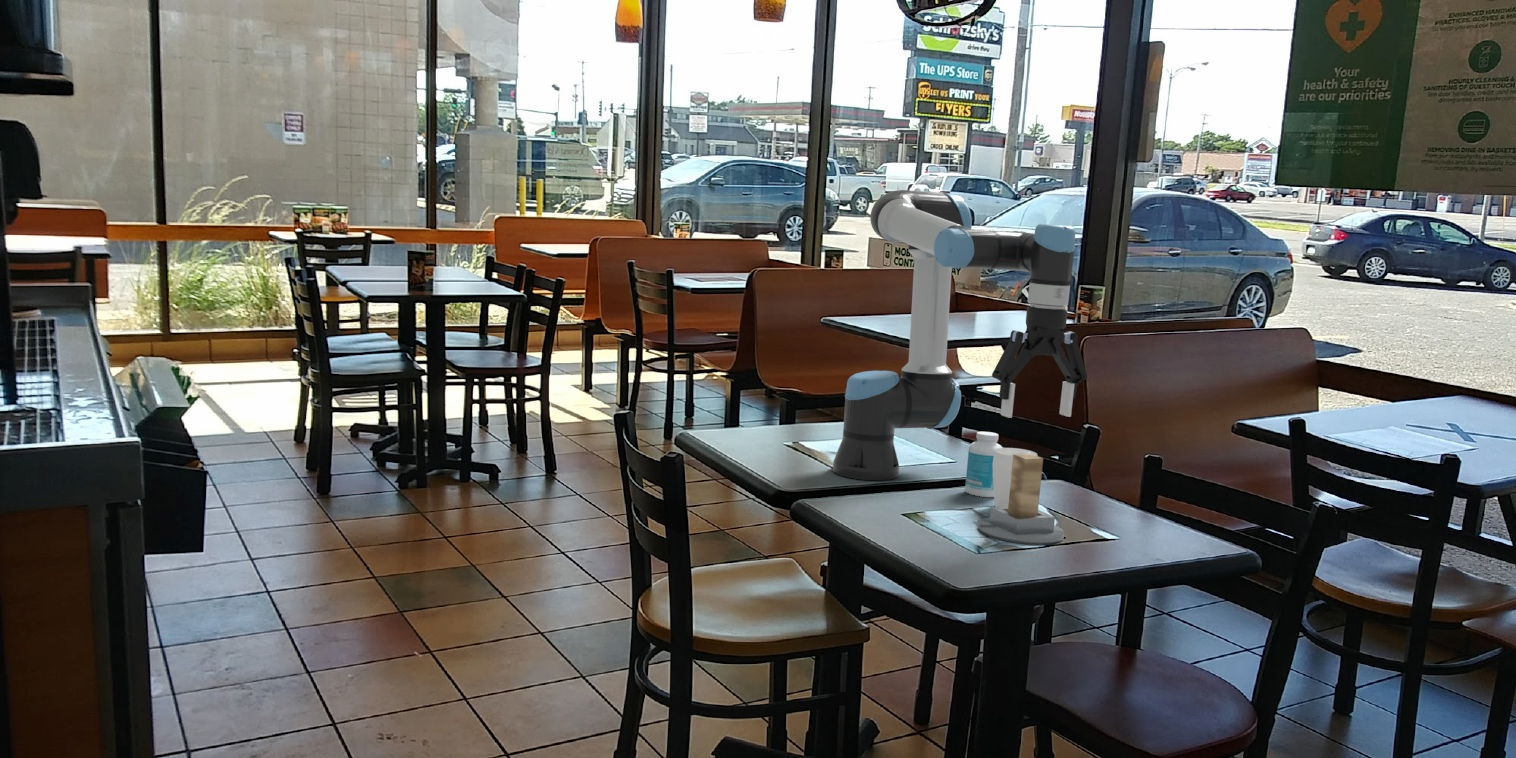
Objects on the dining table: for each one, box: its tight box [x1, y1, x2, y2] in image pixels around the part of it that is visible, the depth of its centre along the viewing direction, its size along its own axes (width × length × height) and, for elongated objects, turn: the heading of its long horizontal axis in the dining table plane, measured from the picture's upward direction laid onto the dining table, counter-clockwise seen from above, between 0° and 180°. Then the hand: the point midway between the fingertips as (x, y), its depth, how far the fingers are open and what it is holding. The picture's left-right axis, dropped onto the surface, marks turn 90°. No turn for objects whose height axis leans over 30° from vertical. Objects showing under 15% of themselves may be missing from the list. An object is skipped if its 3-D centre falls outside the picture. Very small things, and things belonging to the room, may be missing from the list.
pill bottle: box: [964, 431, 1003, 498], centre depth 248 cm, size 8×7×14 cm
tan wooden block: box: [1008, 454, 1044, 517], centre depth 218 cm, size 4×4×14 cm
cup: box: [993, 447, 1038, 507], centre depth 237 cm, size 9×9×12 cm
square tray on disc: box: [978, 506, 1065, 546], centre depth 219 cm, size 16×16×4 cm
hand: (1035, 416), depth 220 cm, fingers open, 13 cm apart
